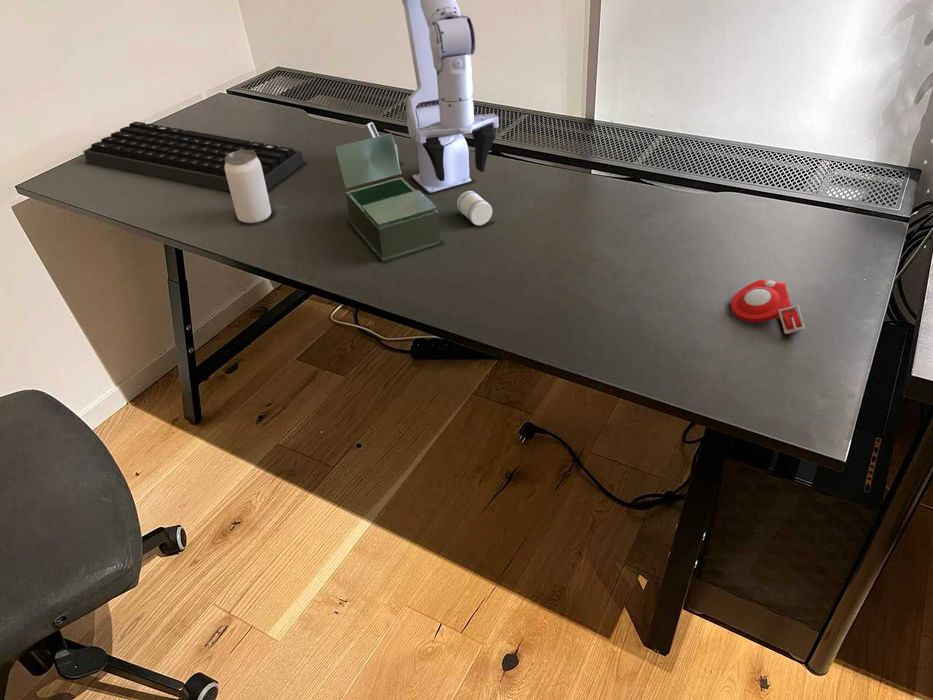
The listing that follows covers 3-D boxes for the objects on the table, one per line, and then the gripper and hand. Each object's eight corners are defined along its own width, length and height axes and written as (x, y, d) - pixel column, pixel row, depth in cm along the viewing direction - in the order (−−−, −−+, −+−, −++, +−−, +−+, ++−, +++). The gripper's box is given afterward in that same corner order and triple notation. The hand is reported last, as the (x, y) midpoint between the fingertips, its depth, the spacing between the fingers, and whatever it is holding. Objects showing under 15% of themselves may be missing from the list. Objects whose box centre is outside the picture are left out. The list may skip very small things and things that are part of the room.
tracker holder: (718, 309, 115) (748, 267, 119) (723, 330, 118) (752, 288, 122) (799, 325, 107) (828, 279, 111) (802, 347, 110) (830, 302, 114)
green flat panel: (345, 188, 136) (345, 188, 136) (401, 173, 140) (400, 173, 140) (335, 147, 133) (334, 147, 134) (391, 133, 137) (391, 133, 138)
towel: (469, 216, 143) (482, 195, 142) (484, 228, 140) (496, 207, 138) (452, 208, 140) (464, 186, 139) (466, 221, 137) (479, 199, 135)
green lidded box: (350, 223, 141) (345, 188, 136) (404, 208, 145) (401, 173, 140) (382, 261, 130) (378, 224, 126) (440, 244, 134) (437, 207, 130)
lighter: (399, 163, 159) (395, 127, 154) (394, 167, 158) (390, 130, 153) (372, 156, 162) (367, 120, 157) (367, 159, 161) (362, 123, 156)
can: (263, 225, 141) (249, 165, 134) (231, 223, 143) (215, 163, 135) (277, 208, 146) (264, 149, 139) (245, 206, 147) (231, 148, 140)
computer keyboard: (303, 163, 161) (300, 146, 159) (258, 197, 150) (254, 179, 148) (139, 133, 176) (134, 117, 174) (87, 162, 165) (81, 146, 163)
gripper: (423, 111, 120) (430, 191, 128) (505, 94, 125) (507, 173, 133) (408, 99, 126) (415, 177, 134) (487, 84, 130) (490, 160, 138)
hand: (460, 174), depth 134 cm, fingers open, 7 cm apart
